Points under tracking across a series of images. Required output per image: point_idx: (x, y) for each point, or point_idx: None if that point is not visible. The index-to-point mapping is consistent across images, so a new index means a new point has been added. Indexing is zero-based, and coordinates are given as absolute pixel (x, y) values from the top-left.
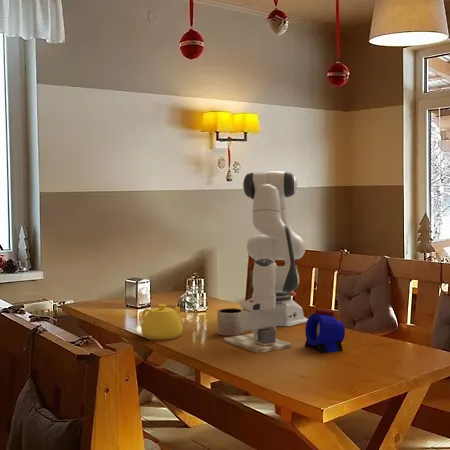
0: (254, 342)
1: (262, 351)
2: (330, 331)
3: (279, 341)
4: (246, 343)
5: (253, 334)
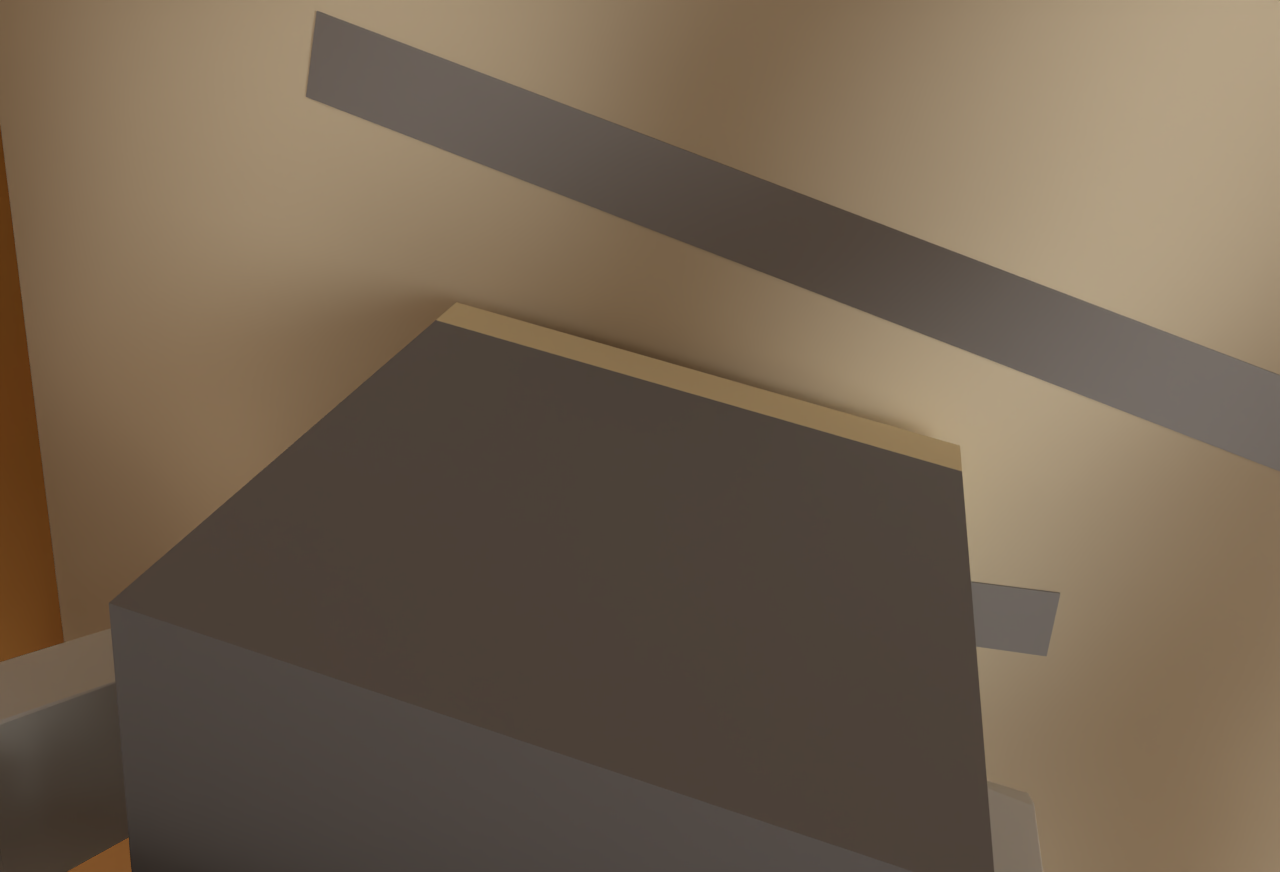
0: (504, 309)
1: None
2: None
3: (1221, 852)
4: (198, 181)
5: (57, 658)
